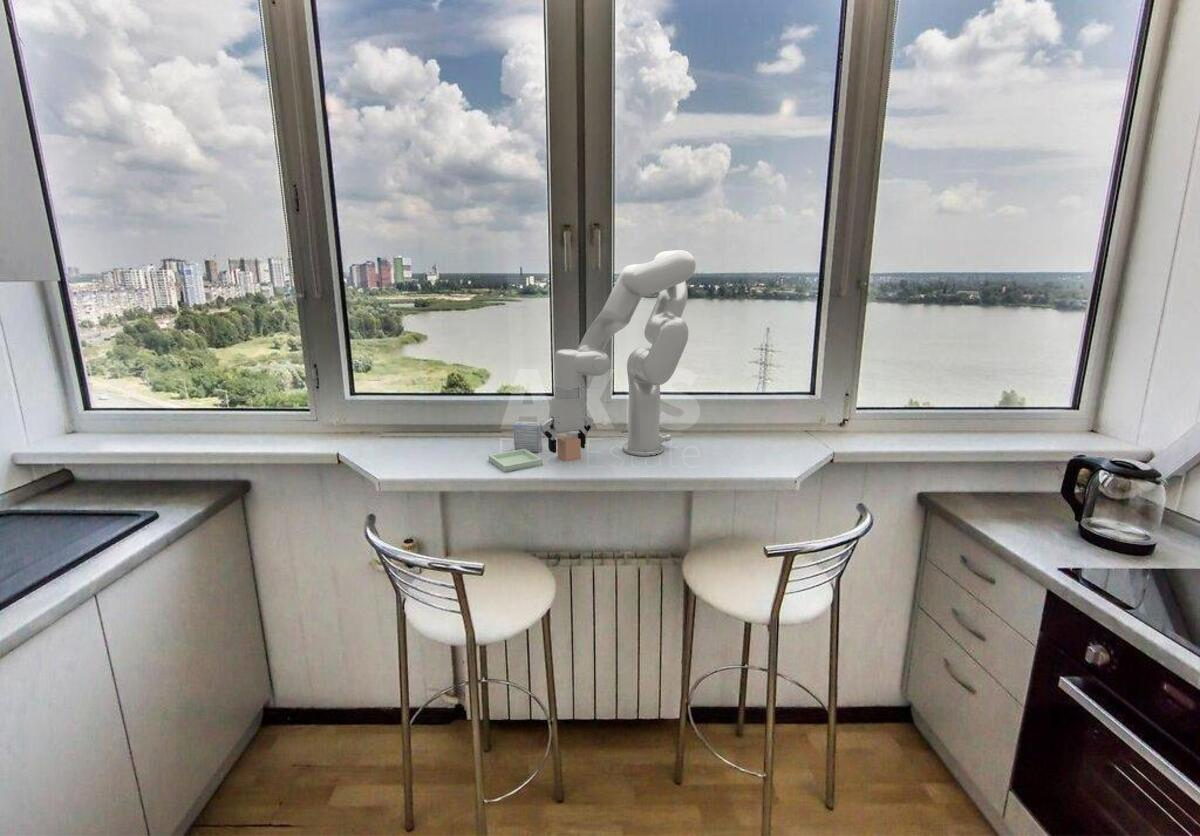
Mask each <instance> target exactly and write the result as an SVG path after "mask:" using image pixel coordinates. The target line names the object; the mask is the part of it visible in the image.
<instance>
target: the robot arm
mask: <svg viewBox="0 0 1200 836" xmlns="http://www.w3.org/2000/svg"><path fill="white" fill-rule="evenodd" d="M696 266H697V265H696V260H695V257H694V256H693V254H692V253H690V252H689V251H686V250H684V249H683V250H682V249H680V250H679V249H676V250H665V251H661V252H658V253H657V254H656V255H655V256H654V258H653V260H652V261H648V262H645V263H636V264H628V265H627V266H625V267H623V268H622V270H621V272H620V274H619V275H618V277H617V279H616V281H615V284H614V286H613V288H612V289H611V292H610V294H609V296H608V298H607V300H606V302H605V303H604V305H603V307H602V309H601V311H600V312H599V314H598V315H597V316H596V318H595V319H594V321H593V322H592V323H591V324H590V326H589V327H587V330H586V332H585V334H584V335H583V337H582V339H581V342H580V344H579V346H578V348H577V349H572V348H571V349H570V348H568V349H567V348H563V349H558V350H556V352H555V354H554V396H553V397H551V400H550V406H549V414H548V419H547V420H546V421H544V422H542V423H541V425H540V428H541V430H542V435H545V437H546V438H547V439H548V445H547V446H548V450H549V451H550V452H551V453H552V454H556V453H557V439H556V438H557V436H558V435H559V433H560V434H562V433H566V432H570V431H579V433H578V438H579V439H581V449H586V439H587V438H586V437H587V435H588V432H589V431H590V430H591V428H592V425H593V423H594V418H592V417H590V416H588V415H586V413H585V405H584V403H585V402H584V398H583V396H582V393H584V392H585V387H582V376H589V377H601V376H603V375H605V374H606V373H607V372H609V370H610V368H611V360H610V357H609V356H608V354H607V353H605V352H604V350H605V347H606V346H607V344H608V343H609V341H610V340H611V338H612V337H613V336H614V335H616V333H618V332H620V331H621V330H623V329H624V328H625V327H627V326H628V325H629V324H630V323H631V320H632V318H633V316H634V314H635V311H636V310H637V308H638V305H639V303H640V302H641V300H642V298H643V297H645V296H646V297H647V296H651V295H654V294H657V293H658V295H657V298H656V300H655V303H654V306H653V308H652V311H651V313H650V315H649V318H648V319H647V322H646V324H645V328H644V338H645V339H646V341H647V342H648V343H649V344H652V345H651V347H650V348H649V347H639V348H636V349H634V350H633V351H632V352H631V353H630V354H629V356H628V358H627V362H626V373H627V381H628V412H627V413H628V417H627V418H628V419H627V420H628V425H627V442H625V443H624V444H623V445H622V450H623V451H624V453H626V454H628V455H632V456H639V457H650V455H652V456H656V454H657V455H660V454H662V453H663V452H664V449H665V447H664V445H663V443H664V442H668V441H669V442H670V441H671V440H672V435H670V434H665V435H663V434H662V433H661V434H660V419H661V418H660V417H661V416H660V414H661V385H664V384H666V383H667V382H669V381H670V379H671V378H672V376H673V375H674V373H675V372H676V369H677V366H678V365H679V362H680V360H681V358H682V355H683V353H684V350H685V348H686V345H687V344H688V340H689V328H688V325H687V322H685V320H684V319H683V318H682V316H683V313H684V310H685V308H686V305H687V301H688V293H689V292H688V285H687V281H688V280H689V279H691V277H692V276H693V275H694V273H695V271H696ZM548 428H549V430H548Z"/></svg>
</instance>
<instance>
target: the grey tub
mask: <svg viewBox="0 0 1200 836" xmlns="http://www.w3.org/2000/svg"><path fill="white" fill-rule="evenodd" d="M565 433H566V435H565V436H571V435H572V436H575V437H577V438H578V433H580V432H579V431H578V430H577V431H570V432H565Z"/></svg>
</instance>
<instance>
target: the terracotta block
mask: <svg viewBox="0 0 1200 836" xmlns="http://www.w3.org/2000/svg"><path fill="white" fill-rule="evenodd" d="M556 438H557V439H556V450H557V458H559V459H561V460H562V461H564V462H570V461H576V460H580V459H581V458H582V457H581V449H582V448H581V439H579V438H577V437H575V436H572V435H571V436H566V435H565V436H560V437H556Z"/></svg>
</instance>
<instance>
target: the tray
mask: <svg viewBox="0 0 1200 836" xmlns="http://www.w3.org/2000/svg"><path fill="white" fill-rule="evenodd" d="M488 462H489V463H491V464H493V465H494V466H495V467H496V468H497V469H499V470H500V471H502V472H503V471H504V472H503V473H505V472H506V473H510V472H515V471H520V470H525V469H531V468H536V467H541V466H543V465H544V464H543V463H544V462H543V458H542V457H540V456H538V455H537V454H535V453H534V452H530V451H528V450H526V449H520V450H514V449H513V450H511V451H505V452H498V453H493V454H488Z"/></svg>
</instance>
